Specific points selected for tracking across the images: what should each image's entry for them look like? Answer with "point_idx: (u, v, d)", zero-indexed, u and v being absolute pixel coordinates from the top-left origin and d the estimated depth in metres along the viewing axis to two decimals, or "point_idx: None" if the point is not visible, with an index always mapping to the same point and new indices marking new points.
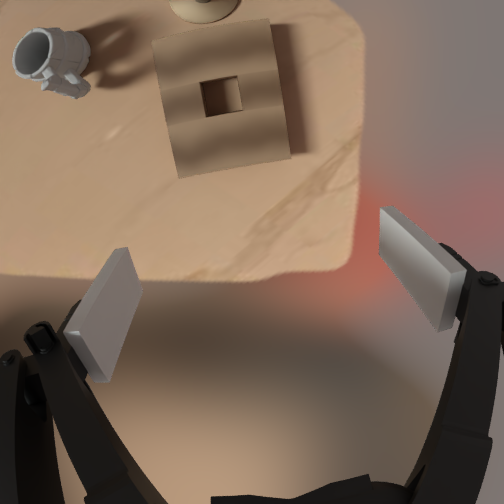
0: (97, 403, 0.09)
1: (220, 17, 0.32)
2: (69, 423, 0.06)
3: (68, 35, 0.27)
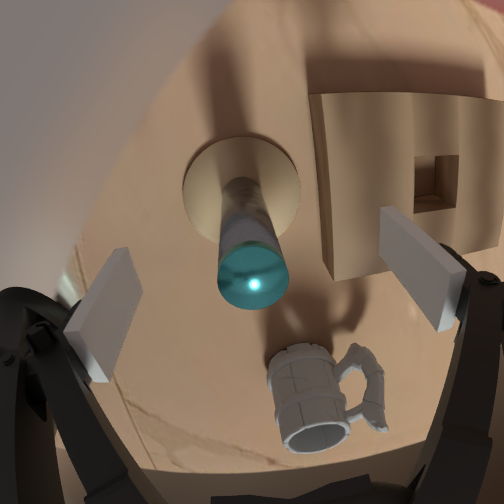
0: (97, 403, 0.09)
1: (293, 168, 0.23)
2: (69, 423, 0.06)
3: (291, 387, 0.28)
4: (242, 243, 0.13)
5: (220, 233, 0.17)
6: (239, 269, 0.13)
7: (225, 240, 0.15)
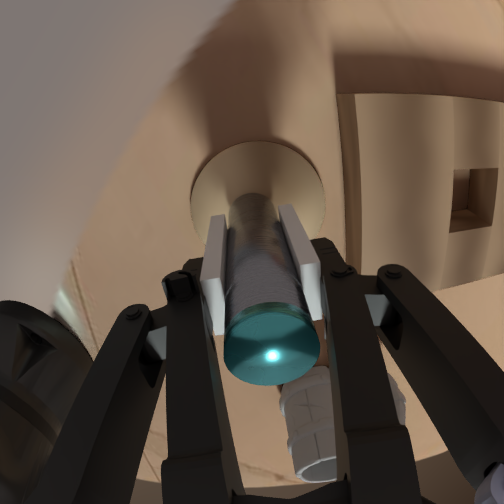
0: (217, 364, 0.11)
1: (317, 179, 0.20)
2: (180, 380, 0.08)
3: (306, 415, 0.25)
4: (258, 306, 0.09)
5: (226, 276, 0.13)
6: (254, 342, 0.09)
7: (233, 294, 0.11)
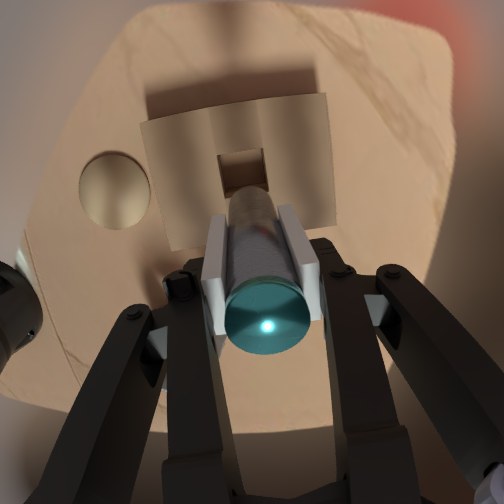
0: (218, 364, 0.11)
1: (141, 172, 0.33)
2: (181, 380, 0.08)
3: None
4: (255, 279, 0.11)
5: (227, 258, 0.14)
6: (251, 311, 0.11)
7: (233, 271, 0.12)
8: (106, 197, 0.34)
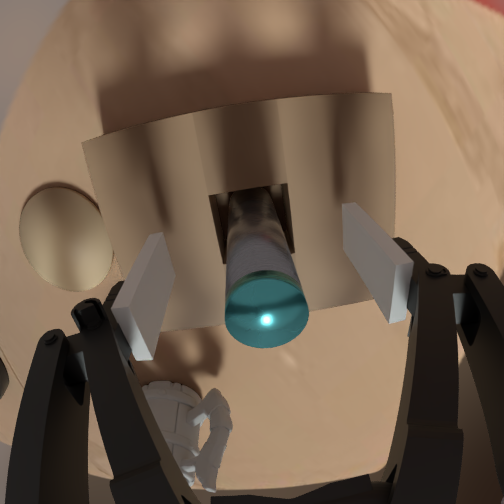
0: (138, 385, 0.10)
1: (98, 215, 0.21)
2: (107, 403, 0.07)
3: None
4: (254, 273, 0.11)
5: (227, 254, 0.14)
6: (251, 305, 0.11)
7: (233, 266, 0.12)
8: (54, 248, 0.22)
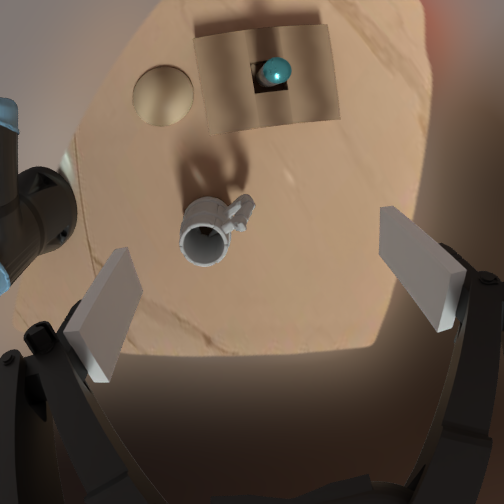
0: (97, 403, 0.09)
1: (188, 80, 0.39)
2: (69, 423, 0.06)
3: (190, 213, 0.44)
4: None
5: (260, 69, 0.33)
6: (272, 64, 0.29)
7: None
8: (156, 99, 0.40)
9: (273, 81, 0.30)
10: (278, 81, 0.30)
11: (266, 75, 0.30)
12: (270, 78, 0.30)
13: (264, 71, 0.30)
